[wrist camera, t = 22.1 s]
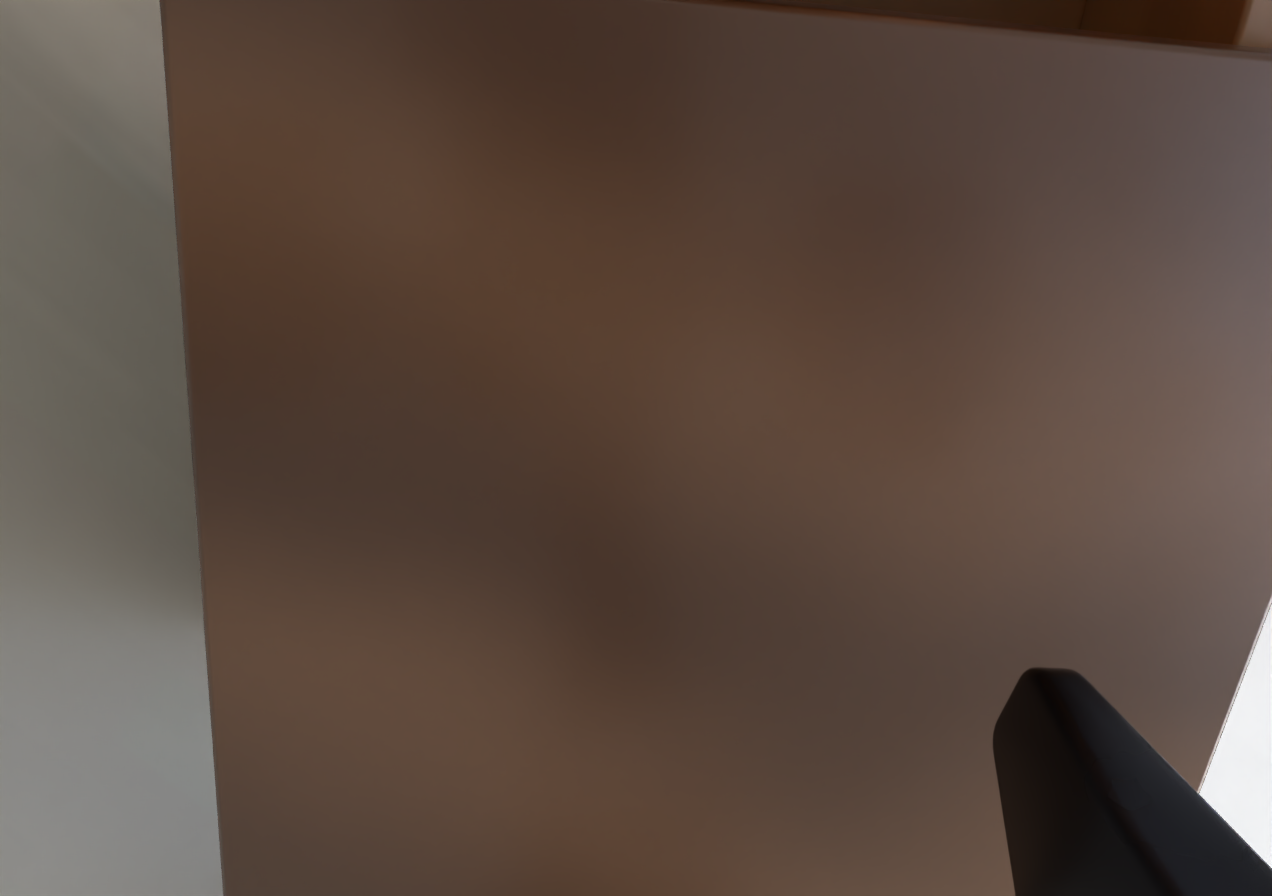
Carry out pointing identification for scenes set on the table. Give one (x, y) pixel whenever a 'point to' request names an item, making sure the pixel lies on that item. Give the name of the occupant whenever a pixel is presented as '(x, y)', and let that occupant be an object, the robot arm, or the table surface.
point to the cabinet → (704, 429)
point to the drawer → (1109, 16)
